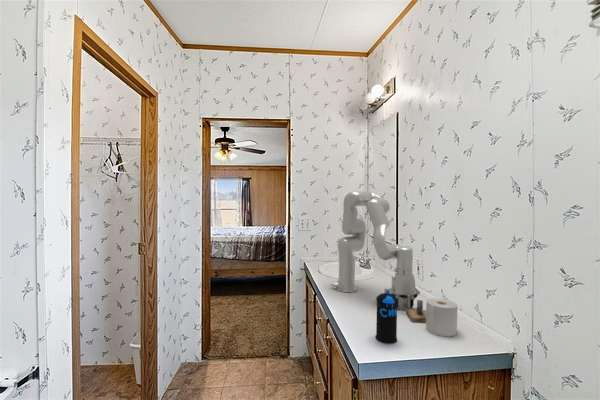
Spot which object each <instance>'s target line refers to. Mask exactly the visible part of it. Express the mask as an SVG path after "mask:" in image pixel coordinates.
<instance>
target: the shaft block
mask: <svg viewBox="0 0 600 400" xmlns="http://www.w3.org/2000/svg"><path fill="white" fill-rule="evenodd" d="M423 303H424V300H421V299H418V300H416V309H411V310H406V311H405V315H406V317H407V318H408V319H409V320H410V322H411V323H419V324H420V323H421V324H422V323H423V324H426V309H423V308H424V307H423V305H424V304H423Z"/></svg>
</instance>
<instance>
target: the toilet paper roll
mask: <svg viewBox="0 0 600 400" xmlns="http://www.w3.org/2000/svg"><path fill="white" fill-rule="evenodd" d="M425 308H426V309H425V310H426V323H425V328H426V330H427V331H428V332H429V333H431V334H433V335H437V336H440V337H455V336H456V335H457V331H458V330H457V329H458V304H457V303H456V302H454V301H453V300H450V299H446V298H445V299H444V298H433V297H432V298H428V299H427V300H426V307H425Z"/></svg>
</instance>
